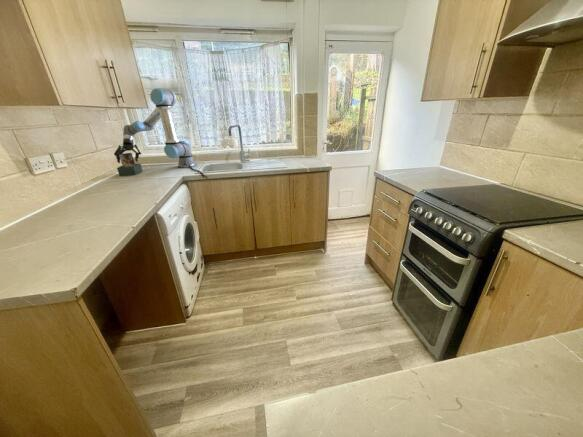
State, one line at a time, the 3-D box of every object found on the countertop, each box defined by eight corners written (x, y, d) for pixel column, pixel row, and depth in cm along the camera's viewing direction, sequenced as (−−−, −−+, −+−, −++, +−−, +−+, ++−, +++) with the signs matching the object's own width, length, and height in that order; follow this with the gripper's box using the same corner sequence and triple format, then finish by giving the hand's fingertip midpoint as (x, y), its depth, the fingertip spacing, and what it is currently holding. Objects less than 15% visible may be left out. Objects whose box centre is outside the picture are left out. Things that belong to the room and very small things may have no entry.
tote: (127, 172, 216) (125, 164, 213) (142, 171, 218) (140, 163, 215) (119, 176, 203) (116, 167, 200) (135, 175, 204) (133, 166, 202)
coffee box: (136, 171, 215) (131, 152, 208) (137, 172, 210) (132, 153, 203) (124, 172, 210) (118, 153, 203) (125, 174, 205) (119, 154, 199)
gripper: (145, 143, 218) (145, 162, 211) (114, 144, 213) (113, 165, 206) (142, 137, 211) (141, 157, 204) (109, 139, 206) (108, 160, 199)
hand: (127, 161), depth 205 cm, fingers open, 13 cm apart
